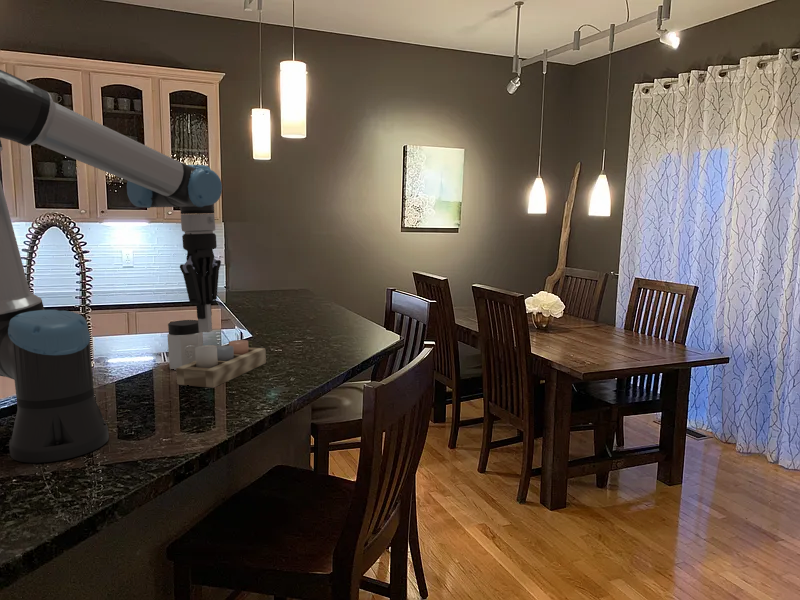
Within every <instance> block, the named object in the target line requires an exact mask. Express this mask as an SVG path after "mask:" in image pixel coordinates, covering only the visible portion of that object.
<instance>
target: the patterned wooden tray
mask: <svg viewBox="0 0 800 600" xmlns="http://www.w3.org/2000/svg"><path fill="white" fill-rule="evenodd" d="M248 347H249V346H248ZM266 352H267V351H266V348H264V347H263V348H262V347H249V352H248V353H246V354H244V355H238V354H234V359H232V360H229V361H218V365H217V366H215V367H212V368H199V367H196V361H194V362H191V363H189V364H186V365H183V366H181V367H178V368H176V370H175V371H176V373H175V374H176V383H177V385H179V386H187V385H189V386H190V387H200V388H209V389H210V388H217V387H218V386H220V385H223V384H224V383H227V382H229V381H230V380H233V379H235V378H238V377H240V376H241V375H244V374H246V373H248V372H251V371H253V370H254V369H256V368H258V367H261V366H263V365H265V364H267V357H266V355H267V354H266Z"/></svg>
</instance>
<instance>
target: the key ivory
mask: <svg viewBox="0 0 800 600" xmlns="http://www.w3.org/2000/svg"><path fill="white" fill-rule="evenodd" d="M195 355H196V367H199V368H212V367H215V366H217V365H218V358H217V345H212V344H211V345H210V344H209V345H207V344H205V345H204V344H203V346H199V347H196V348H195Z"/></svg>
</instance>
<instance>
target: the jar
mask: <svg viewBox="0 0 800 600" xmlns="http://www.w3.org/2000/svg"><path fill="white" fill-rule="evenodd" d="M167 327H168V328H167V329H168V333H167V348H168V350H167V351H168V361H169V363H168V365H169V370H171V369H174V370H173V371H176V368H178V367H181V366H183V365H186V364H189V363H191V362H194V361H196V355H195V348H196V347H199V346H204V334H203V333H204V332H199V326H198V319H182V320H173V321H171V322H169V323H168V324H167Z"/></svg>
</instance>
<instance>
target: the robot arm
mask: <svg viewBox="0 0 800 600" xmlns="http://www.w3.org/2000/svg"><path fill="white" fill-rule="evenodd" d="M2 139H4V140H9V141H11V142H14V143H15V142H16V143H17V144H20V145H23V146H26V147H31V146H33V145H35V144H37V145H39V146H41V147H44V148H46V149H48V150H52V151H53V152H56V153H59V154H61V155H62V156H63V155H64V156H66V157H68V158H71V159H73V160H76V161H78V162H81V163H84V164H87V165H88V166H91V167H93V168H96V169H98V170H101V171H103V172H106V173H108V174H110V175H114V176H115V177H118V178H119V179H123V180H125V181H127V183H126V193H127V197H128V199H129V201H130V203H131V204H132V205H133V206H134V207H136V208H147V209H150V208H179V209H180V210H179V211H180V224H181V231H182V232H183V234H182V236H181V237H182V239H181V240H182V248H183V250H185V251H187V252H186V253H187V254H186V261H185V263H184V264H183V263H181V264H180V265H179V269H180V271H181V273H182V275H183V276H182V277H183V279H184V283H185V289H186V292H187V297H188V302H189V304H191V305H192V306H195V307H196V317H197V320H198V326H199V332H203V333H211V332H213V322H212V321H213V320H212V315H213V314H212V304H213V305H214V304H215V303H216V300H217V298H218V287H219V285H218V284H219V275H220V274H219V273H220V269H221V265H222V261H221V260H220V259H216V258H215V254H214V251H213V250H216V248H218V247H217V235H216V233H215V232H214V231H216V220H215V204H216V203H217V202H219V200H220V198H221V196H222V192H223V184H222V181H221V178H220V177H219V175H218V173H216V172H215V171H214V170H212V169H211V168H210V166H208V165H206V164H205V165H203V164H186V163H183V162H181V161H179V160H177V159H174V158H172V157H170V156H168V155H166V154H164V153H161V152H159V151H158V150H156V149H153V148H152V147H149V146H147V145H145V144H143V143H141V142H139V141H137V140H135V139H133V138H130V137H128V136H126V135H124V134H122V133H120V132H118V131H116V130H114V129H111V128H110V127H107V126H105V125H103V124H101V123H99V122H97V121H95V120H93V119H91V118H89V117H87V116H84V115H83V114H80V113H78V112H76V111H74V110H72V109H69V108H68V107H66V106H63V105H61V104H60V103H57V102H55V101H54V100H53V97H52V95H51V94H50V92H48V91H47V90H44V89H42V88H40V87H38V86H36V85H34V84H32V83H30V82H28V81H26V80H24V79H21V78H19V77H17V76H15V75H13V74H11V73H9V72H7V71H4V70H2V69H0V153H1V152H2V150H3V144H2V141H1V140H2ZM8 207H9V206H8V203H7V200H6V196H5V192H4V188H3V185H2V180H1V179H0V377H5V378H8V379H12V380H13V381H14V387H15V389H14V390H15V399H16V405H17V411H16V416H15V419H14V425H13V429H12V435H11V436H10V438H9V442H8V447H9V456H10V458H11V459H13V460H14V461H18V462H21V463H31V464H33V463H34V464H38V463H50V462H51V463H52V462H58V461H63V460H68V459H69V460H70V459H73V458H77V457H80V456H83V455H86V454H89V453H91V452H94V451H96V450H98V449H100V448H101V447H103V446H104V445H106V444H107V443H108V441H109V439H110V437H109V435H110V434H109V425H108V424H107V421H106V420H104V416H103V415H102V412H101V409H100V407H99V405H98V403H97V401H96V398H95V391H94V380H93V379H94V378H93V377H94V376H93V368H92V366H93V365H92V354H91V334H90V332H89V327H88V321H87V320H86V318H85V317H84V316H83V315H81V314H79V313H77V312H74V311H69V310H58V309H45V307H44V303H43V299H42V298H41V297H40V296H37V295H36V294H34V293H33V292H31V290H30V288H29V287H30V286H29V282H28V280H27V276H26V273H25V267H24V264H23V261H22V257H21V253H20V249H19V246H18V242H17V239H16V234H15V231H14V227H13V223H12V219H11V218H12V217H11V215H10V211H9V208H8Z"/></svg>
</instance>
